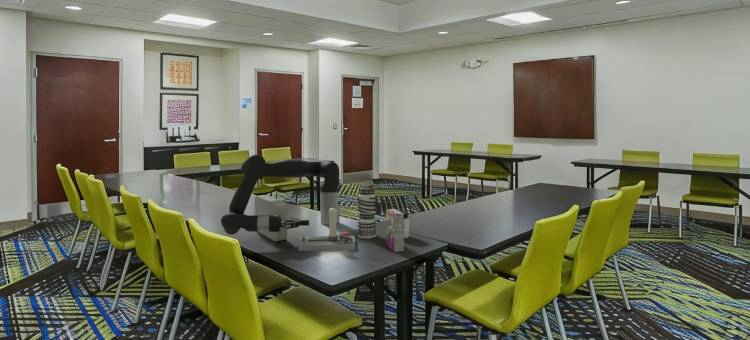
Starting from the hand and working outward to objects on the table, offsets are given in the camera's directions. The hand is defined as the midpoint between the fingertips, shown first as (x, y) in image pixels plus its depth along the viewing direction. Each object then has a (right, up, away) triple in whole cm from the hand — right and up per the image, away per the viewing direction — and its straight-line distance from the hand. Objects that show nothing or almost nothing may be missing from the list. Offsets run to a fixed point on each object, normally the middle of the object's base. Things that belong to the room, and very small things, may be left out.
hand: (309, 222), depth 206 cm
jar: (+41, -9, +17) cm, 45 cm away
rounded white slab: (-21, -9, +21) cm, 31 cm away
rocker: (+16, -7, -2) cm, 18 cm away
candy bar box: (+38, -11, -3) cm, 39 cm away
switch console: (+8, -10, +2) cm, 13 cm away
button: (+16, -7, +6) cm, 18 cm away
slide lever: (+10, -7, +2) cm, 13 cm away
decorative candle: (+25, -9, +18) cm, 32 cm away
